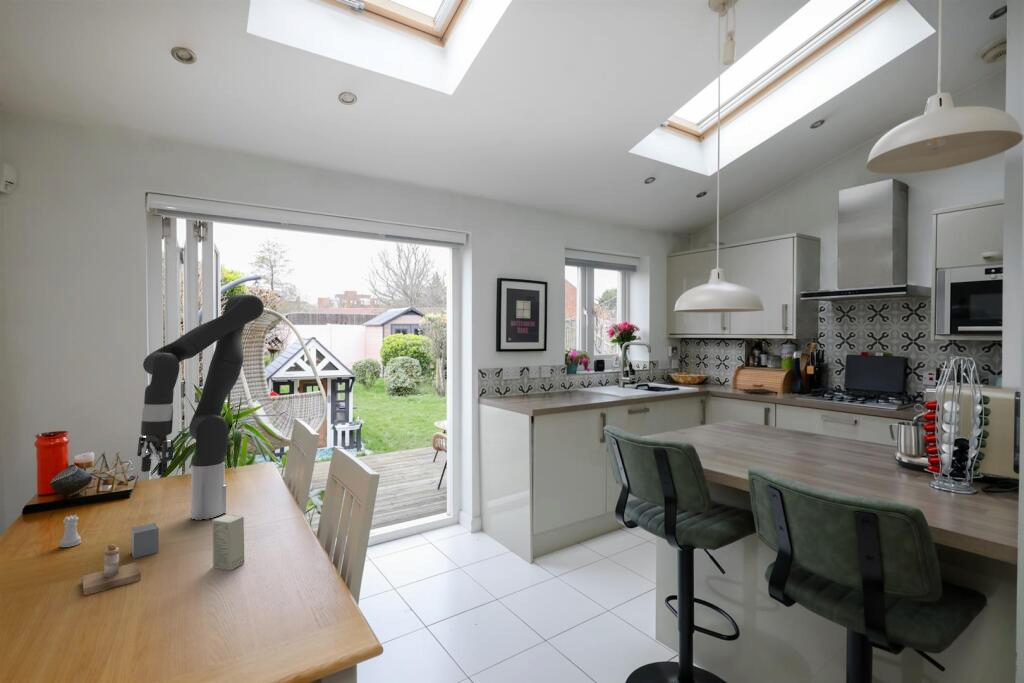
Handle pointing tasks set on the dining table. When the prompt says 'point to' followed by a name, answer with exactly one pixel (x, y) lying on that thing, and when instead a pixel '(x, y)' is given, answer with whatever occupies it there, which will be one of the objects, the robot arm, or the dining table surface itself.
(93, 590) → the wooden stand with post
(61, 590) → the dining table surface
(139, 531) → the blue-grey rectangular block
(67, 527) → the rook chess piece
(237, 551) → the skincare box
